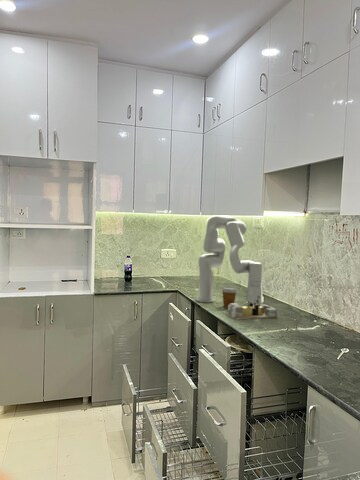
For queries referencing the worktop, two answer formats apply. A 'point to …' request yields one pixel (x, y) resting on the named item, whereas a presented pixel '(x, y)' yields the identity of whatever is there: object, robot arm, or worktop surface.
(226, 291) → the disposable coffee cup
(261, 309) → the brass tube
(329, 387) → the worktop surface
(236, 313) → the tray with grey blocks
